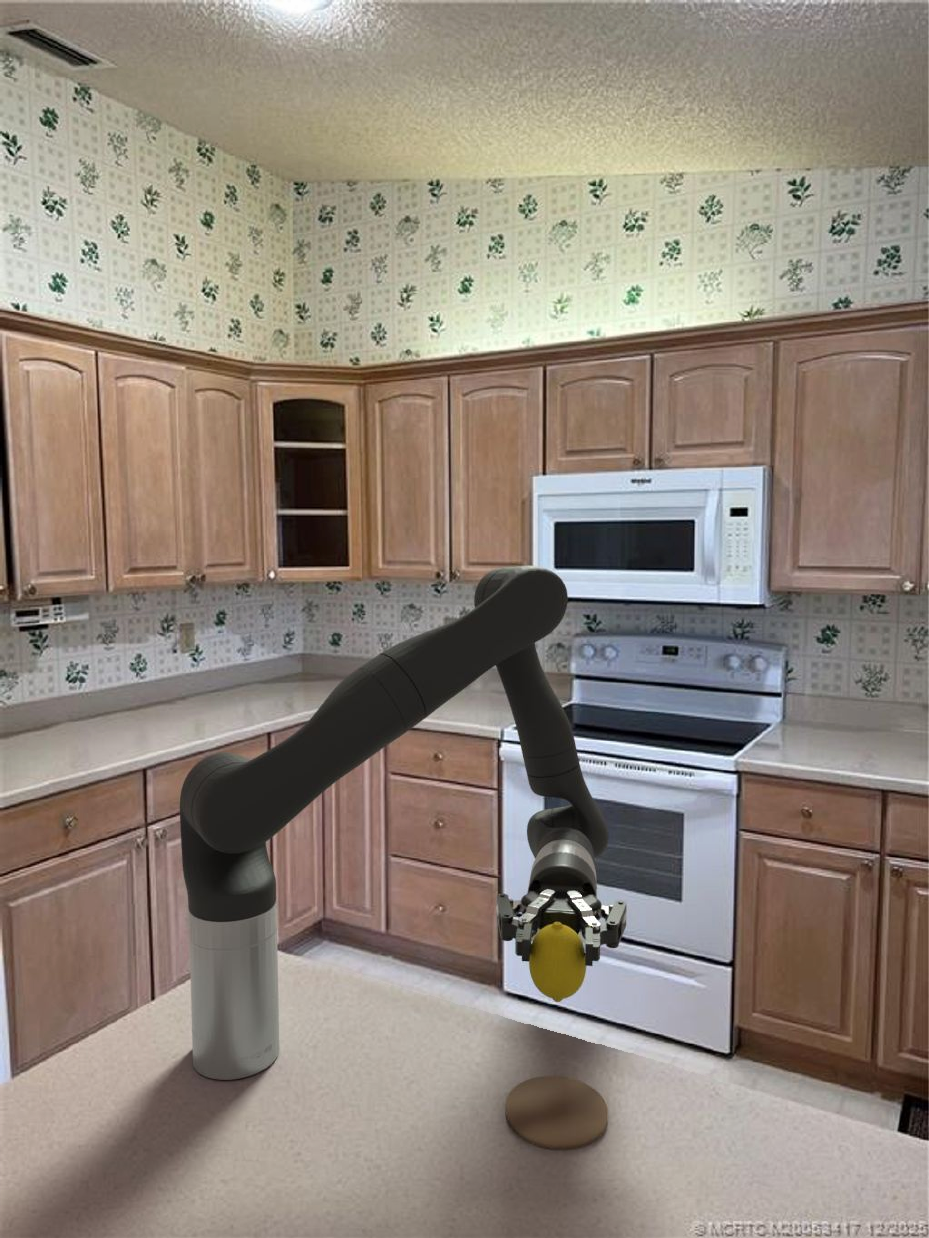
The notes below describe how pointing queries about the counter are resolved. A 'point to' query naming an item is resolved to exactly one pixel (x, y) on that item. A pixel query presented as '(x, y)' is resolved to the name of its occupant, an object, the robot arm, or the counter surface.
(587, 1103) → the walnut board
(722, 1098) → the counter surface
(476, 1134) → the counter surface
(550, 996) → the lemon
